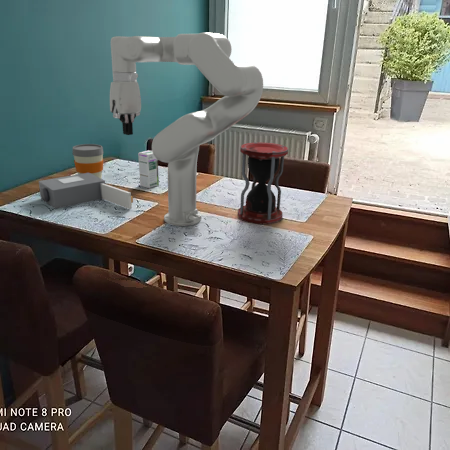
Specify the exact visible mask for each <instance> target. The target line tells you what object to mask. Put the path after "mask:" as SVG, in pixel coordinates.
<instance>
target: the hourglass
mask: <svg viewBox="0 0 450 450" xmlns="http://www.w3.org/2000/svg"><path fill="white" fill-rule="evenodd" d="M239 151H240V153H242V162H241V163H242V166H241V175H242V178H243V179H244V181H245V185H244V188H243V189H242V191H241V193H240V207H238V209H237V217H238V218H239V219H240V220H242V221H243V222H246V223H250V224H255V225H270V224H271V225H272V224H276V223H278V222H281V220H282V219H283V215H284V214H283V211H282V210H281V208H280V207H281V198H282V197H281V196H282V189H281V187H280V186H279V179H280V177H281V176H282V174H283V172H284V161H285V160H284V159H285V156H287V155H288V153H289V148H288V146H285V145H284V144H279V143H272V142H257V141H254V142H247V143H243V144H241V145H240V150H239ZM247 156H248V157H247ZM246 163H247V164H246ZM246 166H247V168H248V170H249V173H251V175H252V176H253V179H252V181H253V182H252V183H251V190H249V187H250V179H249V177H247V175H246ZM278 170H279V171H278ZM277 171H278V173H277ZM275 174H276V175H275ZM274 176H275V177H274ZM267 181H268V182H267ZM257 182H258V183H257ZM266 182H267V183H266ZM273 182H274V187H276V190H277V197H276V196H275V193H274V192H273V190H272V184H273ZM248 190H249V191H248ZM247 191H248V193H247V194H246V192H247ZM245 194H246V198H245ZM276 198H277V199H276ZM244 201H245V202H244ZM244 204H245V205H244Z"/></svg>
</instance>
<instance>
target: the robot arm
mask: <svg viewBox="0 0 450 450" xmlns="http://www.w3.org/2000/svg"><path fill="white" fill-rule="evenodd" d="M110 52H111V69H112V81H111V82H110V88H109V111H110V113H112V117H113V118H114V119H118V120H119V121H120V123H122V124H121V125H122V134H123V135H126V136H132V135H133V134H134V128H133V123H135V119H136V117H138V116H140V115H141V109H142V98H141V91H140V85H139V82H138V81H137V80H138V79H137V78H139V74H138V73H137V64H136V63H177V64H178V65H184V66H195V67H196V68H197V69H198V70H199V71H200V73H201V74H202V75H203V76H204V77H205V78H206V80H208V81H209V83H210V84H211V85H212V86H213V87H214V88H215V89H216V90H217V91H218V92H219V93H220V94H222V95H223V97H221V98H219V99H218V100H217V101H215V102H214V103H212V104H211V105H210V106H209V107H207V108H205V109H202V110H198V111H193V112H190V113H186V114H184V115H183V116H180V117H179V118H177V119H175V120H174V121H173V122H172V123H170V124H169V125H168V126H166V127H165V128H163V129H162V130H160V131H159V132H158V133H157V134H156V135H155V136H154V137H153V140H152V143H151V151H152V152H153V154H154V156H155V157H156V158H157V159H158V161H160V162H162V163H165V164H166V163H167V164H168V165H167V202H168V203H167V204H168V206H167V207H168V212H167V213H166V214H164V216H163V219H164V222H165V223H166V224H169V225H171V226H176V227H177V226H178V227H187V226H194V225H197V224H198V223H199V222H201V220H202V215H201V214H200V213H199V211H198V209H197V171H198V170H197V167H198V165H197V164H198V163H197V162H198V155H199V151H200V145H204V144H206V143H209V142H212V141H213V140H214V139H215V138H217V137H218V136H220V135H221V134H222V133H224V132H226V131H227V130H228V129H230V128H232V127H233V126H234V125H236V124H237V123H239V122H240V121H242V120H243V119H244V118H245V117H247V116H248V115H250V114H251V113H252V111H254V109H255V108H256V107H257V105H258V104H259V102H260V100H261V99H262V98H261V97H262V95H263V91H264V78H263V74H262V72H261V71H260V69H259V68H258V67H257V66H255V65H253V64H251V63H246V62H245V63H235V62H233V60H231V54H232V45H231V42H230V40H229V39H228V38H227V37H226V36H225V35H224V34H222V33H221V34H220V33H217V32H214V33H213V32H200V33H178V34H177V35H176V36H148V35H147V36H145V35H144V36H143V35H142V36H141V35H134V36H122V35H121V36H118V35H117V36H113V37H111V39H110Z"/></svg>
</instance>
